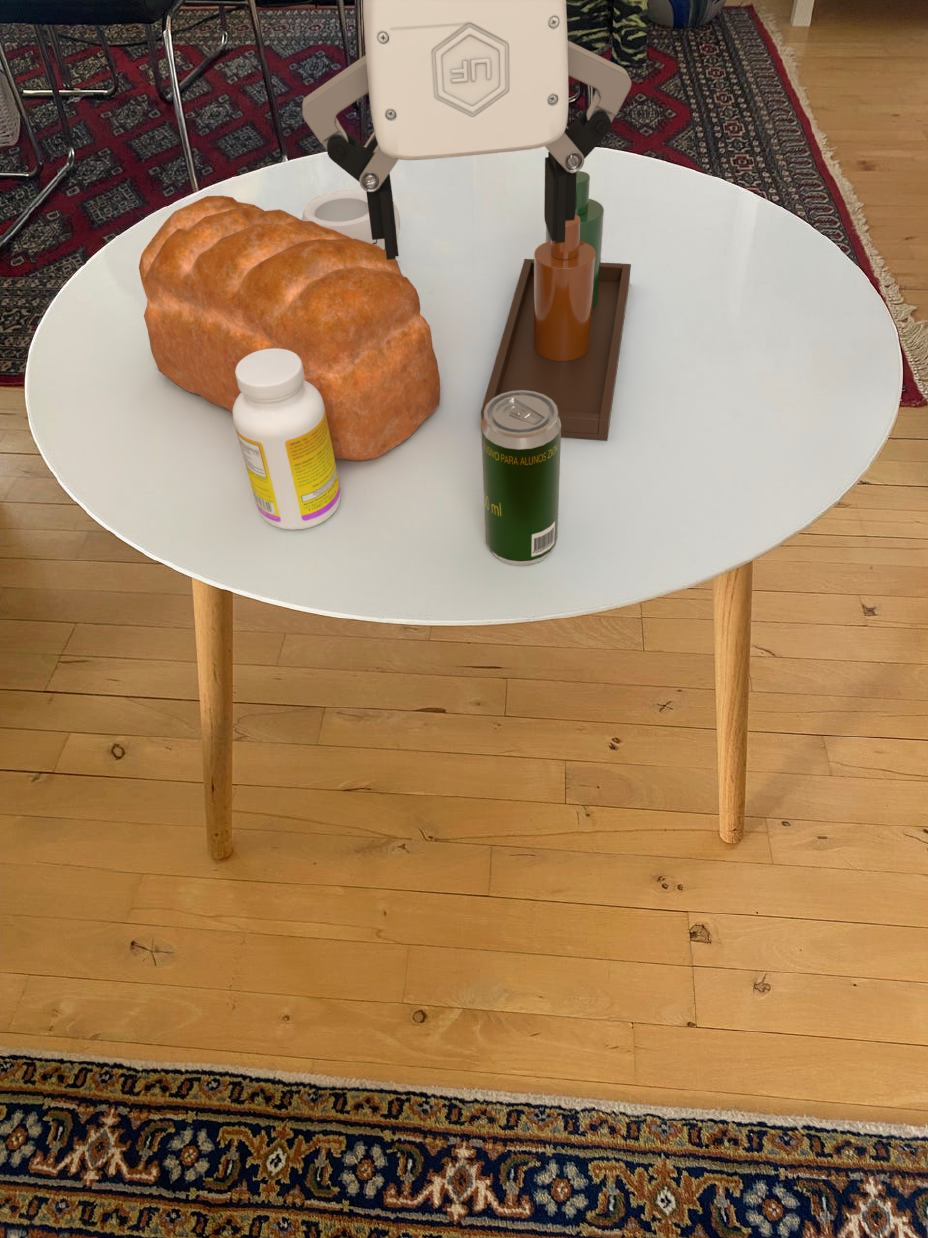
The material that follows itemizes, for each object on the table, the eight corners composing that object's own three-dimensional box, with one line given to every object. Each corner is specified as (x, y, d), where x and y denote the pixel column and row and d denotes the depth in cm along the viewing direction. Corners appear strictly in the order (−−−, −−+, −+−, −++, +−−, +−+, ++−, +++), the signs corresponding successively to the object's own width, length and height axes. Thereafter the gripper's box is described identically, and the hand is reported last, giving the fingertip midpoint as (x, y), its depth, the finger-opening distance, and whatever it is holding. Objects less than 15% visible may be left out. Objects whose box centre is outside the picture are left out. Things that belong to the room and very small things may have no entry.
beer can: (571, 539, 74) (578, 407, 65) (526, 579, 72) (526, 447, 63) (516, 509, 77) (515, 378, 68) (470, 547, 74) (463, 416, 65)
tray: (629, 283, 99) (631, 263, 97) (607, 440, 82) (608, 420, 80) (524, 277, 100) (524, 258, 99) (481, 431, 84) (480, 410, 82)
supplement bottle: (349, 479, 80) (325, 340, 71) (333, 535, 76) (306, 395, 66) (268, 476, 81) (234, 339, 71) (249, 532, 76) (209, 393, 67)
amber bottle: (592, 331, 92) (600, 205, 83) (587, 363, 89) (594, 235, 80) (537, 328, 93) (539, 203, 84) (530, 359, 89) (530, 232, 81)
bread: (251, 311, 98) (215, 153, 87) (461, 399, 87) (451, 230, 75) (143, 378, 91) (88, 216, 80) (356, 484, 80) (328, 311, 68)
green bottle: (600, 287, 97) (608, 164, 88) (595, 315, 94) (603, 190, 85) (548, 284, 98) (550, 162, 89) (541, 312, 95) (543, 188, 86)
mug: (355, 311, 98) (344, 234, 92) (294, 286, 101) (280, 211, 95) (432, 260, 104) (426, 185, 98) (372, 239, 107) (363, 166, 102)
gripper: (265, -80, 42) (326, 287, 55) (663, -114, 43) (633, 257, 56) (270, -120, 47) (325, 225, 60) (626, -151, 48) (605, 197, 61)
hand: (473, 240), depth 58 cm, fingers open, 9 cm apart
